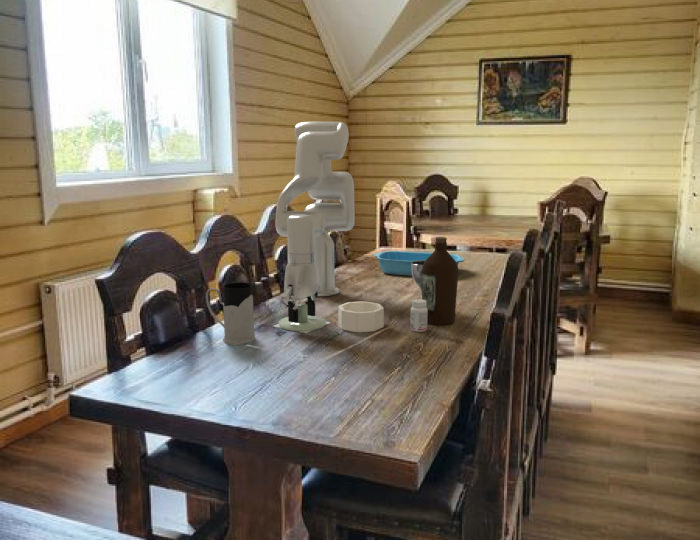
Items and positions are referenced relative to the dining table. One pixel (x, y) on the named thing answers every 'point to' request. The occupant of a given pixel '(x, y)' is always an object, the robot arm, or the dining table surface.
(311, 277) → the robot arm
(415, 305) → the pill bottle
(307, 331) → the mat
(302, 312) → the lid
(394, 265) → the casserole dish
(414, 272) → the wine glass
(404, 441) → the dining table surface
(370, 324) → the bowl
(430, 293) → the olive oil
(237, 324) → the glass holder
